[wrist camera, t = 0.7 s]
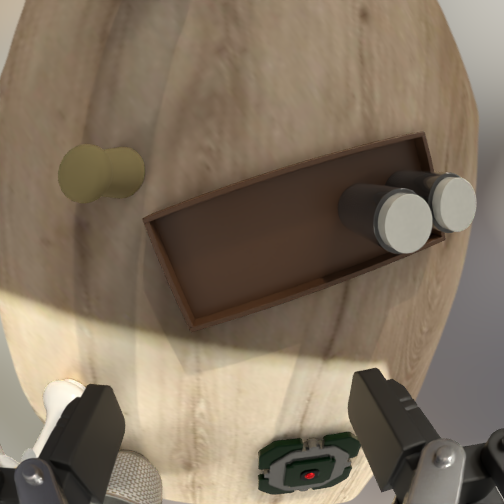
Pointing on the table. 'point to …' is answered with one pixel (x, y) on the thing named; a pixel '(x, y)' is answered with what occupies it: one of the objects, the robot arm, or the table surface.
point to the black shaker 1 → (386, 216)
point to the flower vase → (48, 416)
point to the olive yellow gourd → (100, 173)
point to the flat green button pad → (306, 463)
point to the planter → (133, 481)
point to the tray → (276, 233)
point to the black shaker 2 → (440, 197)
